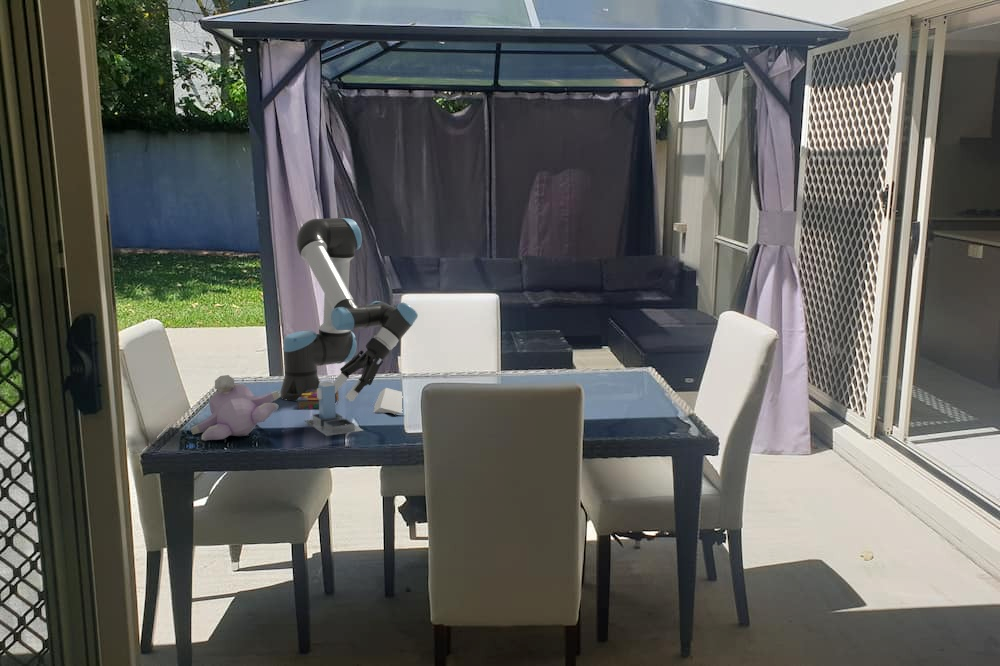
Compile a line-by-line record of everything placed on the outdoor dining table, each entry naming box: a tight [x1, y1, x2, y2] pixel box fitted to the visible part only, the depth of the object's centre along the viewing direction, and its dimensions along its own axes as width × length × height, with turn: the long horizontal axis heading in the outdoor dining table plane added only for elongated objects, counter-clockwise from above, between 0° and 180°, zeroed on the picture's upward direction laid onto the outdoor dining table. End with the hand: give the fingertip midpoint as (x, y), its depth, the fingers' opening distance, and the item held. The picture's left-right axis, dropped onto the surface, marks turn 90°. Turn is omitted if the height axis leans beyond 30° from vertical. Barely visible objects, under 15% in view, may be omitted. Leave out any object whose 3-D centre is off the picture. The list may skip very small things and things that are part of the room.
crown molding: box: [373, 387, 403, 415], centre depth 305 cm, size 29×12×4 cm, turn 4°
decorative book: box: [296, 389, 339, 410], centre depth 303 cm, size 11×16×5 cm
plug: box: [317, 381, 337, 419], centre depth 278 cm, size 4×5×13 cm
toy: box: [189, 374, 281, 441], centre depth 272 cm, size 29×17×30 cm
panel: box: [304, 412, 364, 437], centre depth 275 cm, size 20×12×3 cm, turn 32°
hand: (339, 395), depth 278 cm, fingers open, 13 cm apart
